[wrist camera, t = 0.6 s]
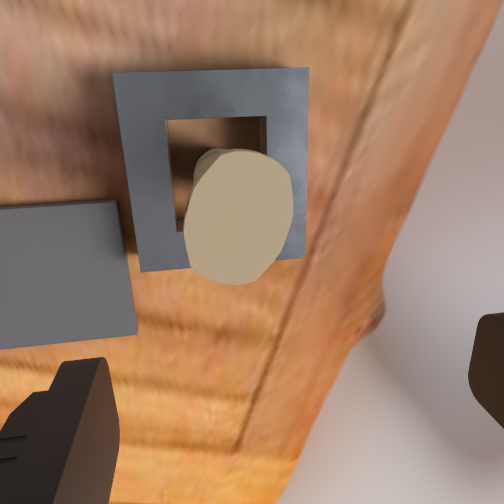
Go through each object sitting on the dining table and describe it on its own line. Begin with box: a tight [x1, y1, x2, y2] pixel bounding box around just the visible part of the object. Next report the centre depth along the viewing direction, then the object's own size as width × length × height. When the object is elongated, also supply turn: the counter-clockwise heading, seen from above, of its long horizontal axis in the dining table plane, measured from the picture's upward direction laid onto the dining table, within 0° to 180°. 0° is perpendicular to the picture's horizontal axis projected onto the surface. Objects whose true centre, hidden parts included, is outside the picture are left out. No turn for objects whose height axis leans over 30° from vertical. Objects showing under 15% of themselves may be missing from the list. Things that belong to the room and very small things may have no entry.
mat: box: [0, 199, 138, 350], centre depth 33 cm, size 12×12×1 cm
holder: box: [112, 67, 309, 272], centre depth 31 cm, size 14×13×4 cm
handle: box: [183, 148, 293, 285], centre depth 26 cm, size 5×6×15 cm
